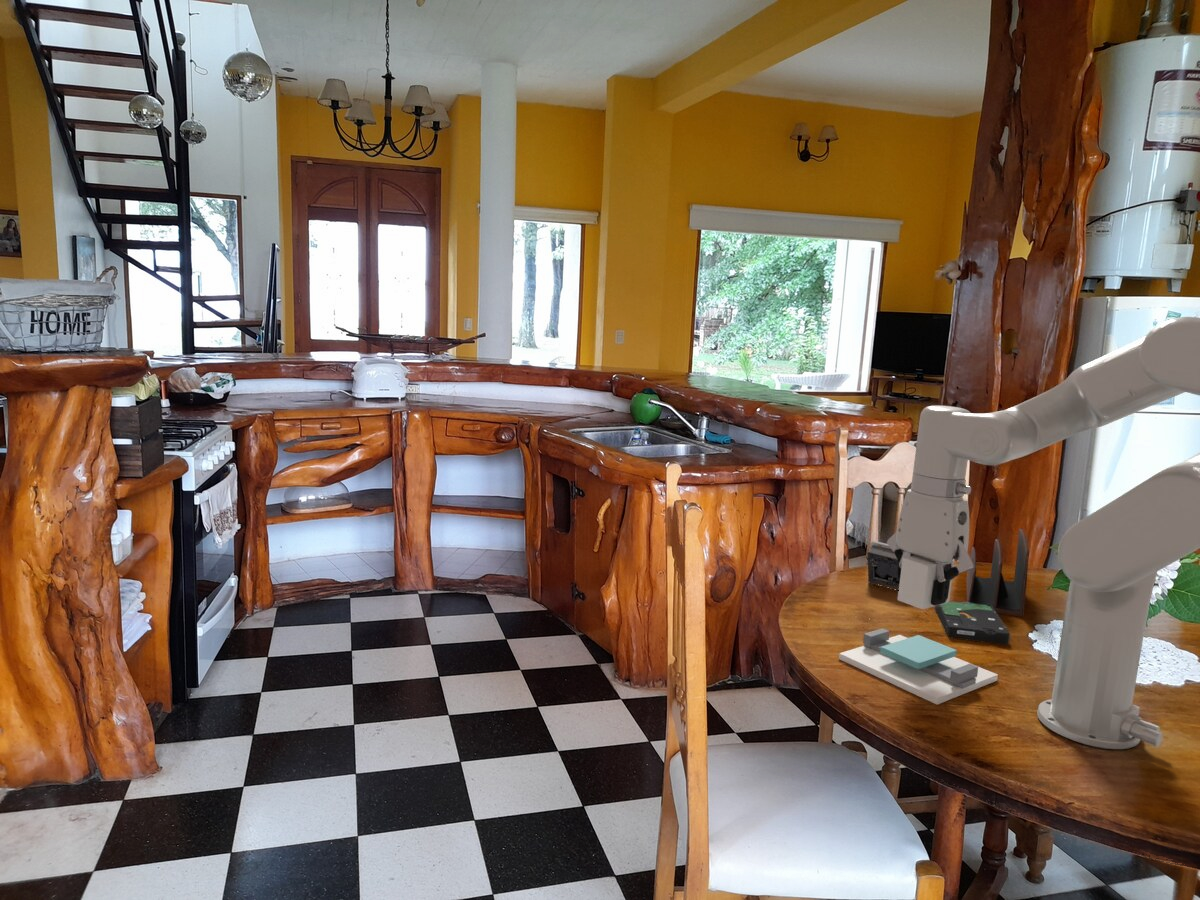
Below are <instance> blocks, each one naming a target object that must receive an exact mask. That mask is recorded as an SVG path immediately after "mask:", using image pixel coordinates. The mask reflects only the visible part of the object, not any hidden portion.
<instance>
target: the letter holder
mask: <svg viewBox="0 0 1200 900" xmlns="http://www.w3.org/2000/svg"><path fill="white" fill-rule="evenodd" d="M1016 547H1017V548H1016V558H1015V566H1014V567H1015V569H1014V576H1013V577H1014V579H1013V581H1011V580H1010V581H1009V580H1005V578H1004V576H1003V573H1002V570H1003V553H1002V552H1003V551H1002V547H1001V542H1000V540H999V538H996V539H995V540H994V545H993V555H992V563H991V569H990V576H989V577H981V576H977V553H976V548H975V546H971V550H970V555H969V557H970V559H971V561H972V563H973V568H972V569H970V570H968V571H966V572H967V574H966V579H965V580H966V602H970V603H979V604H987V605H992V606H993V608H994V609H995V611H996V613H997V614H1002V615H1007V616H1012V617H1013V616H1014V617H1017V618H1018V617H1019V618H1023V617H1024V613H1025V604H1026V603H1025V601H1026V592H1027V585H1028V571H1029V569H1028V568H1029V561H1030V560H1029V559H1030V549H1029V543H1028V539H1027V536H1026V532H1025V530H1024V528H1023V529H1022V528H1019V530H1018V537H1017V545H1016Z"/></svg>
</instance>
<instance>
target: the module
mask: <svg viewBox="0 0 1200 900" xmlns="http://www.w3.org/2000/svg"><path fill="white" fill-rule="evenodd" d="M955 561H956V560H955V559H953V566H954V567H955ZM934 580H937V571H936V562H935V561H933V560H930V559H927V558H924V557H921V556H918V555H913V556H908V557H904V558H903V560H902V568H901V576H900V584H899V591H897V601H899V602H901V603H904V604H907V605H910V606H912V607H914V608H917V609H920V610H926V609H930V608H933V607H935V606H934V605H932V604H931V598H932V590H933V583H934ZM952 582H953V579H952V580H950V586H949V593H948V598H947V600H946V602H945V603H948V602H949V601H950V597H951V590H952ZM943 604H944V603H943ZM939 605H941V604H939ZM936 606H937V605H936Z"/></svg>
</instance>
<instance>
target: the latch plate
mask: <svg viewBox="0 0 1200 900" xmlns="http://www.w3.org/2000/svg"><path fill="white" fill-rule="evenodd" d="M906 638H907V639H904V640H901V641H898V642H894V643H891V644H888V645H885V646H882V647H881V649H880V653H882V654H884V655H887V656H889V657H891V658H893V659H896V660H898V661H900V662H903V663H905V664H907V665H910V666H912V667H914V668H916V669H921V668H924V667H927V666H929V665H932V664H935V663H938V662H941V661H944V660H946V659H949V658H952V657H957V652H958V651H957V649H955V648H952V647H950V646H947V645H945V644H942V643H940V642H937V641H934V640H932V639H929V638H928V637H924V636H922V635H919V634H917V635H914V636H911V637H906Z"/></svg>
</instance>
